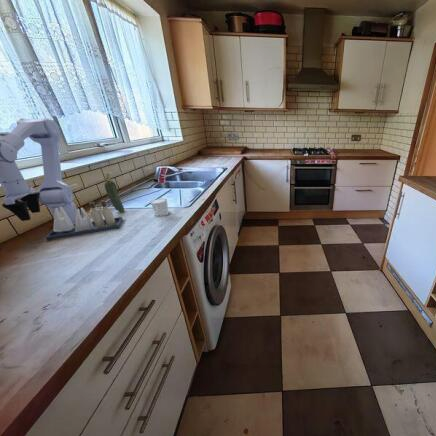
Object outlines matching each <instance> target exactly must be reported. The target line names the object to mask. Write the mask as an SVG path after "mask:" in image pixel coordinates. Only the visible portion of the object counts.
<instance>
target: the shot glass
mask: <svg viewBox="0 0 436 436" xmlns="http://www.w3.org/2000/svg"><path fill="white" fill-rule="evenodd" d="M150 205H151V207H152V210H153V212H154V215H155V216H157V217H166V216H168V215H169V206H168V199H167V198H156V199H153V200H151V201H150Z"/></svg>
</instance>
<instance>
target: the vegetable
mask: <svg viewBox="0 0 436 436" xmlns="http://www.w3.org/2000/svg"><path fill="white" fill-rule="evenodd" d="M117 187H118V186H117V184H116V182H114V181H113V180H112V177H111V174H110V172H108V171H107V172H106V174H105V182H104V189H105V192H106V194H107V197H108V198H109V200H110V203H111V204H112V207H113V208H114V209H115V211H117V212H119V213H123V212H124V211H125V207H124V205H123V203H122V201H121V199H120V197H119V195H118V188H117Z"/></svg>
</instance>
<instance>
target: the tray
mask: <svg viewBox="0 0 436 436" xmlns="http://www.w3.org/2000/svg"><path fill="white" fill-rule="evenodd" d="M114 219H115V221H116V224H117V225H114V226H107V224H106V221H105V219H104V222H105V224H106V227H101V228H96V225H95V223H94V220H91V222H92V224H93V225H94V227H95V228H91V229H89V230H83V231H77V232H76V231H75V228H73V229H72V230H71V231H68V232H54V228H53V229H52V230H51V231H50V232H49V233H48V234H47V235H46V236H45V239H46V241H53V240H58V239H59V240H60V239H65V238H71V237H72V238H73V237H77V236H82V235H88V234H95V233H100V232H107V231H113V230H119V229H120V227H121V225H122V224H123V221H124V218H123V217H122V216H119V217H118V216H117V217H114ZM73 225H74V227H75V224H73ZM82 229H83V228H82Z"/></svg>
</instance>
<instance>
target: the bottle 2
mask: <svg viewBox="0 0 436 436" xmlns="http://www.w3.org/2000/svg"><path fill="white" fill-rule="evenodd" d="M100 204H101V209H100V212H101V215H102V217H103V219H104V220H105V221H106V224H107V226H114V225H117V224H116V221H115V219H114V218H115V216H114V214H113V211H112V208H111V207H110V206H108V204H107V203H106V200H100Z"/></svg>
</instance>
